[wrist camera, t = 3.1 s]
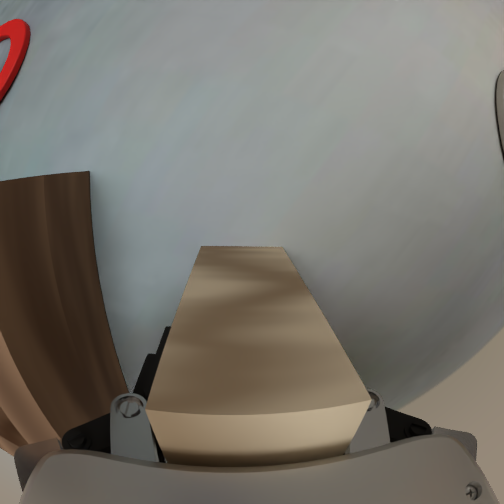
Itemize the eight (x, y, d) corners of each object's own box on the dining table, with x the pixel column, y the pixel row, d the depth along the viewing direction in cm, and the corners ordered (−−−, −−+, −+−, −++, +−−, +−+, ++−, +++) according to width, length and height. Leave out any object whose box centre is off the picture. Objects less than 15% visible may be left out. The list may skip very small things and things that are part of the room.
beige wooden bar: (281, 246, 14) (371, 399, 4) (271, 375, 16) (299, 518, 7) (201, 246, 13) (145, 409, 4) (208, 375, 16) (200, 522, 6)
